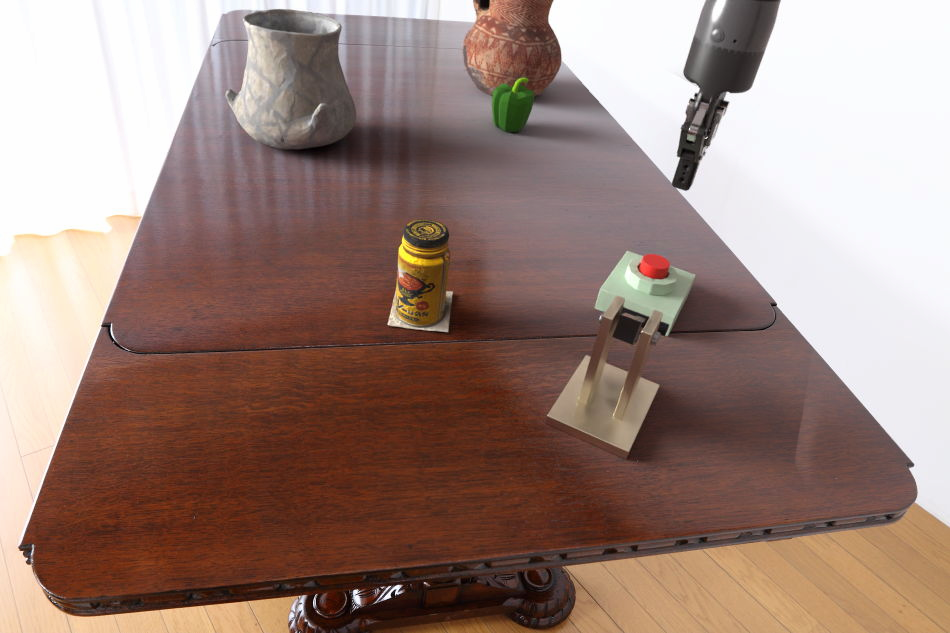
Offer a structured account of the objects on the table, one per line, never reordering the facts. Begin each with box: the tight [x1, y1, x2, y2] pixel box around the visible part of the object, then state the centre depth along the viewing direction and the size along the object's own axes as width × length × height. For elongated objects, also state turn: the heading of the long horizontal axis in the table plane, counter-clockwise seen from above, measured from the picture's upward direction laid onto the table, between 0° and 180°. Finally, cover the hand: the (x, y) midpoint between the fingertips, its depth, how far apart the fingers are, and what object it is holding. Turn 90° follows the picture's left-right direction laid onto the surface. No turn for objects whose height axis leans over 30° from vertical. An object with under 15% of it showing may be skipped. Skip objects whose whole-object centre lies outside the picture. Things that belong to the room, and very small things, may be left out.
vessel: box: [224, 8, 357, 150], centre depth 115 cm, size 22×22×20 cm
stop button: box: [639, 253, 671, 279], centre depth 89 cm, size 4×4×2 cm
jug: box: [461, 0, 562, 97], centre depth 148 cm, size 22×21×25 cm
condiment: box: [387, 218, 454, 333], centre depth 81 cm, size 7×8×12 cm
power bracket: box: [544, 295, 663, 460], centre depth 71 cm, size 12×9×13 cm
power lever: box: [612, 307, 669, 346], centre depth 72 cm, size 12×6×2 cm, turn 153°
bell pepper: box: [491, 77, 535, 133], centre depth 134 cm, size 8×8×10 cm
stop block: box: [594, 250, 696, 337], centre depth 91 cm, size 12×10×5 cm
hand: (681, 186), depth 82 cm, fingers closed
